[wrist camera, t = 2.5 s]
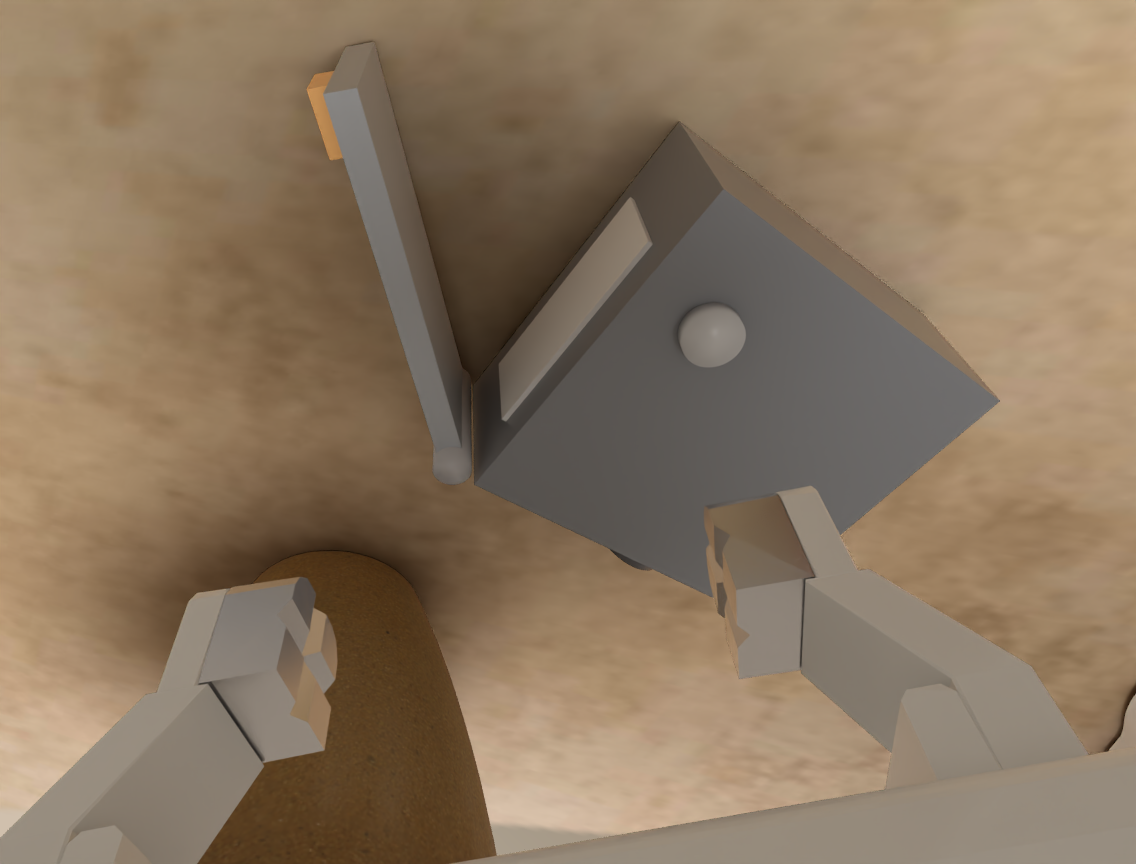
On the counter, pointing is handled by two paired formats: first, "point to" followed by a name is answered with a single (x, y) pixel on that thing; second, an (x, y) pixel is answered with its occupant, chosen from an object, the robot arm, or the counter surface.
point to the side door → (398, 245)
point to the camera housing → (711, 372)
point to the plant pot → (368, 741)
